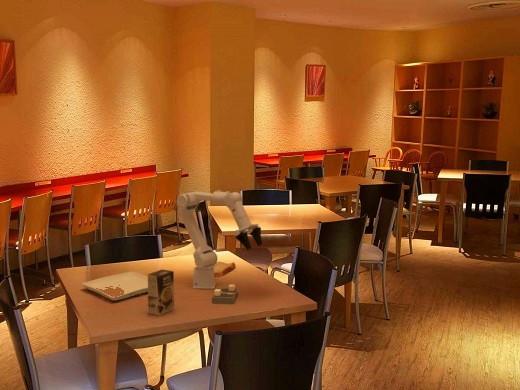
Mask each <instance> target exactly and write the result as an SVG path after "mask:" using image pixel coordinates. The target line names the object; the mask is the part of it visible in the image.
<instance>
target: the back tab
mask: <svg viewBox="0 0 520 390" xmlns="http://www.w3.org/2000/svg"><path fill="white" fill-rule="evenodd" d="M228 288H229V291H234V290H235V288H236V284H233V283H232V284H231V283H230V284H229V285H228Z"/></svg>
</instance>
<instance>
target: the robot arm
mask: <svg viewBox="0 0 520 390" xmlns="http://www.w3.org/2000/svg"><path fill="white" fill-rule="evenodd" d="M202 201H207V202H209V201H210V202H212V204H214V205H220V206H225V207H226V208H228V210H229V211H230V212H231V214H232V217H233V219H234V221H235V223H236V225H237V227H238V229H236V230H234V231H233V233H234V236H235V239H236V240H237V241H238V242H240V243H241V244H242V245H243V246H244V248H245V249H246V250H247V251H249V250H250V249H252V245H251V242H250V239H249V236H248V233H249V235H250V236H251V237H252V238H253V240H254V242H255V244H256V245H257V247H260V246H262V245H263V240H262V235H261V233H262V228H261V226H260V225H259V223H252V222H251V219H250V218H249V215H248V213H247V212H246V210H245V209H246V208H245V207H244V205H243V203H242V201H243V198H242V194H241V193H240V192H238V191H233V192H230V191H222V190H221V189H218V190H216V191H214V192H213V193H212V192H204V191H192V192H191V191H190V192H186V193H180V194H179V195H178V196H177V199H176V205H177V207H178V209H179V214H180V218H181V219H182V222H183V224H184V226H185V229H186V231H187V234H188V236H189V239H190V240H191V242H192V245H193V247H194V249H195V251H194V252H193V254H192V256H193V259H194V264H195V267H193V271H192V272H193V273H192V282H193V283H192V288H193V289H203V290H204V289H205V290H206V289H208V290H213V289H214V290H215V287H216V285H217V282H215V277H214V266H215V264H216V263H217V262H218V255H217V254H216V252H215V251H214V250H213V248H212V247H211V246H209V245H207V243H206V241H205V238H204V236H203V233H202V231H201V229H200V227H199V224H198V222H197V220H196V218H195V216H194V215H195V214H194V213H195V210H196V209H197V207H198V206H199V204H200V203H201V202H202Z"/></svg>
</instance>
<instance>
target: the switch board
mask: <svg viewBox="0 0 520 390" xmlns="http://www.w3.org/2000/svg"><path fill="white" fill-rule="evenodd" d="M216 289H221V295H220V296H214V294H212V297H211V304H222V305H223V304H227V305H228V304H229V305H231V304H232V305H233V304H234V303H235V301H236V299H237V295H238V288H237V287H235V290H234V291H229V287H217V288H216Z"/></svg>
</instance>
